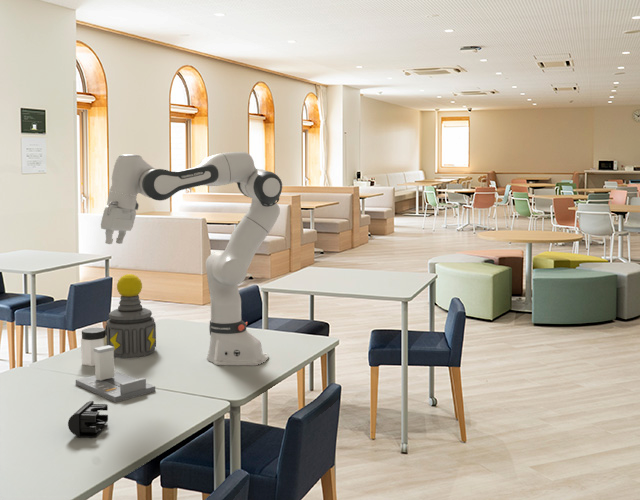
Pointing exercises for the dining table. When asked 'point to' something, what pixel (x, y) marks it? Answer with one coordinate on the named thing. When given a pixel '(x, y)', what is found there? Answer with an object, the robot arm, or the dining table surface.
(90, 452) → the dining table surface
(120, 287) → the decorative lamp
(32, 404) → the dining table surface
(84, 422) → the end cap
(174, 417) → the dining table surface
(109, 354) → the fader tab
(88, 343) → the jar
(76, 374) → the dining table surface
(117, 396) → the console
